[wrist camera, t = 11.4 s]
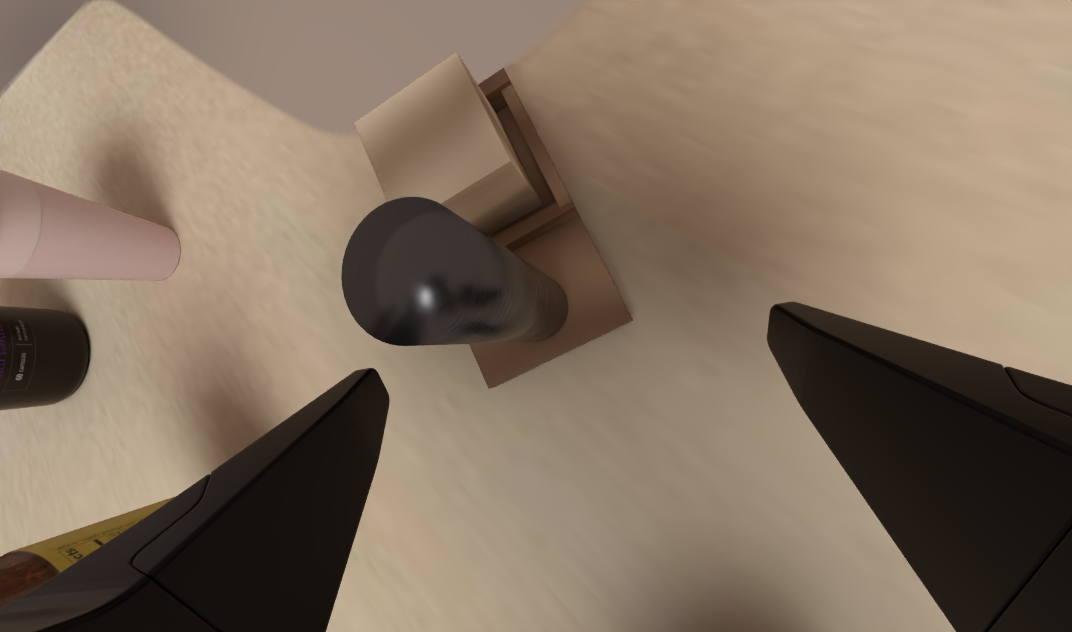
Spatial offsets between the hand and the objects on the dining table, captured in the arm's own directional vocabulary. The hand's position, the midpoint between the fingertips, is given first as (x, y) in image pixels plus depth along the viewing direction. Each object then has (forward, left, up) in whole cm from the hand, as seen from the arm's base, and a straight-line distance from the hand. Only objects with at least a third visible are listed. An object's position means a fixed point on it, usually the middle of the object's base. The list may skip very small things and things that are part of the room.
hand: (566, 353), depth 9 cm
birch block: (+5, +9, -9) cm, 14 cm away
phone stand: (+3, +7, -10) cm, 13 cm away
